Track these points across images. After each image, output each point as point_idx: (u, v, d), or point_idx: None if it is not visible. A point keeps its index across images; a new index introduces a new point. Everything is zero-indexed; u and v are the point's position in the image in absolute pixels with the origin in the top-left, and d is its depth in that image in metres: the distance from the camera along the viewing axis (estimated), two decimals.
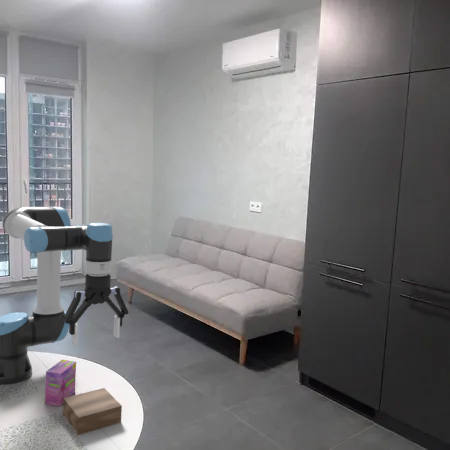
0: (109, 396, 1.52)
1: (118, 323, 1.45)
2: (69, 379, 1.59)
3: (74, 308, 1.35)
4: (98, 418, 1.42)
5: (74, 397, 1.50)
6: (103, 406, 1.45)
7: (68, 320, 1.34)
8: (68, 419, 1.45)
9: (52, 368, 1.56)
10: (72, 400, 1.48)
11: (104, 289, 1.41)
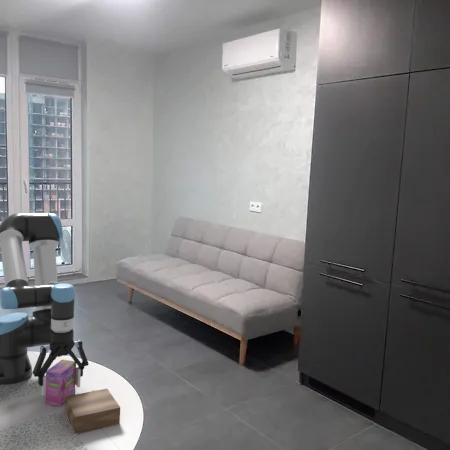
0: (110, 397, 1.51)
1: (79, 374, 1.62)
2: (69, 378, 1.59)
3: (41, 362, 1.53)
4: (95, 418, 1.42)
5: (76, 396, 1.50)
6: (101, 407, 1.45)
7: (37, 373, 1.52)
8: (68, 418, 1.46)
9: (52, 368, 1.56)
10: (73, 399, 1.48)
11: (68, 342, 1.58)
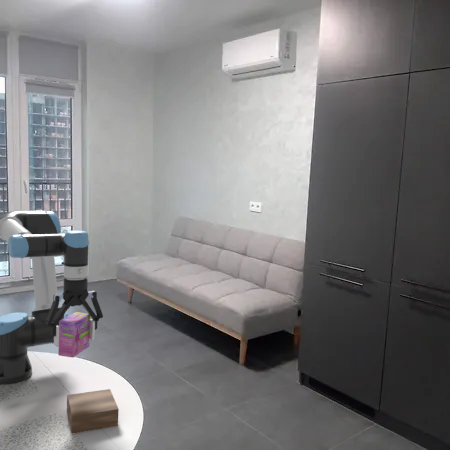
0: (111, 398, 1.51)
1: (93, 326, 1.54)
2: (83, 330, 1.52)
3: (54, 311, 1.46)
4: (93, 418, 1.41)
5: (77, 395, 1.51)
6: (100, 407, 1.44)
7: (49, 322, 1.45)
8: (68, 416, 1.47)
9: (65, 318, 1.49)
10: (74, 398, 1.49)
11: (82, 292, 1.51)
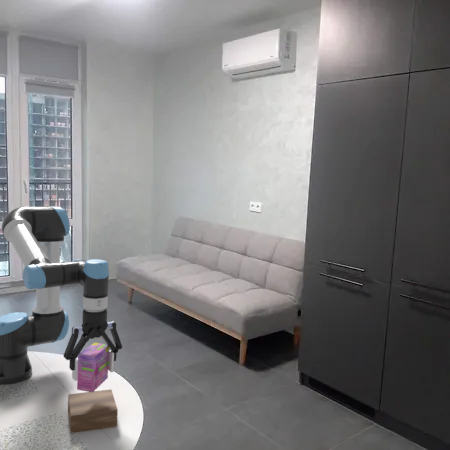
0: (111, 398, 1.50)
1: (112, 358, 1.49)
2: (103, 363, 1.47)
3: (73, 344, 1.40)
4: (92, 419, 1.41)
5: (78, 394, 1.51)
6: (99, 407, 1.44)
7: (68, 356, 1.39)
8: None
9: (84, 351, 1.44)
10: (74, 397, 1.49)
11: (101, 323, 1.45)
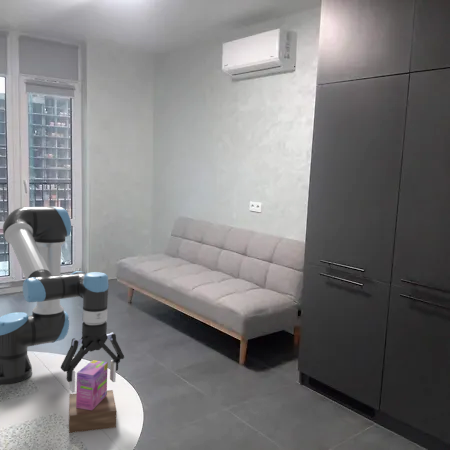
0: (111, 399, 1.50)
1: (114, 368, 1.50)
2: (101, 380, 1.47)
3: (71, 356, 1.40)
4: (90, 419, 1.41)
5: None
6: (99, 408, 1.44)
7: (65, 368, 1.39)
8: None
9: (83, 369, 1.44)
10: (75, 397, 1.50)
11: (100, 336, 1.45)
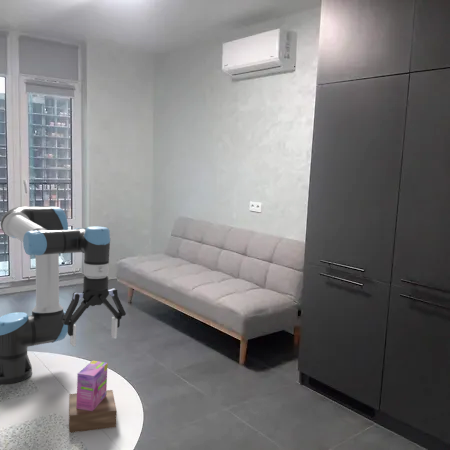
0: (111, 399, 1.50)
1: (115, 324, 1.48)
2: (101, 381, 1.47)
3: (72, 310, 1.39)
4: (90, 419, 1.41)
5: None
6: (99, 408, 1.44)
7: (66, 321, 1.38)
8: None
9: (83, 370, 1.44)
10: (75, 397, 1.50)
11: (102, 291, 1.44)
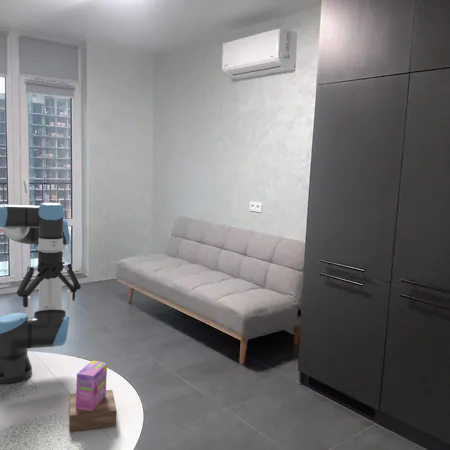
0: (111, 399, 1.50)
1: (71, 297, 1.54)
2: (101, 381, 1.47)
3: (27, 282, 1.44)
4: (90, 419, 1.41)
5: None
6: (99, 408, 1.44)
7: (21, 293, 1.44)
8: None
9: (83, 370, 1.44)
10: (75, 397, 1.50)
11: (56, 265, 1.50)
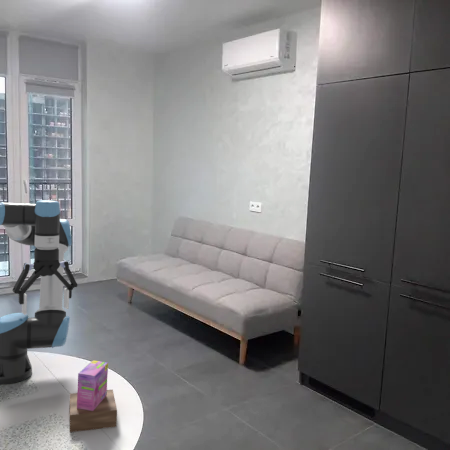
0: (111, 398, 1.51)
1: (67, 295, 1.54)
2: (102, 381, 1.47)
3: (23, 279, 1.45)
4: (91, 418, 1.41)
5: None
6: (99, 407, 1.44)
7: (17, 290, 1.44)
8: None
9: (84, 370, 1.44)
10: (75, 397, 1.50)
11: (52, 262, 1.50)
